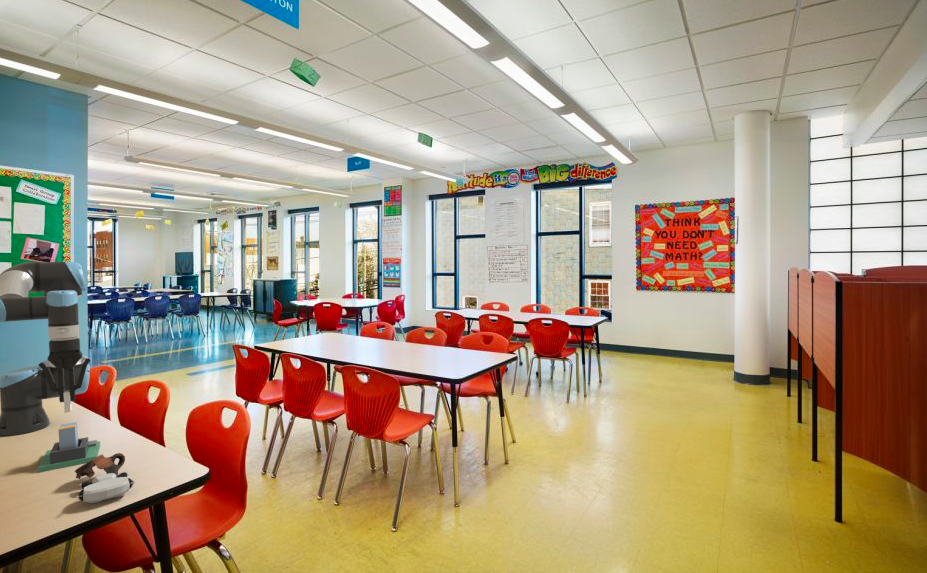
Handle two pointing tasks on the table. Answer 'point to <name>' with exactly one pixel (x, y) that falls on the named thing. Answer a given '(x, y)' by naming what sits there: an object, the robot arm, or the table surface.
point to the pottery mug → (101, 465)
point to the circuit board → (70, 455)
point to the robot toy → (105, 487)
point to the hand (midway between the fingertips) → (68, 411)
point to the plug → (68, 436)
